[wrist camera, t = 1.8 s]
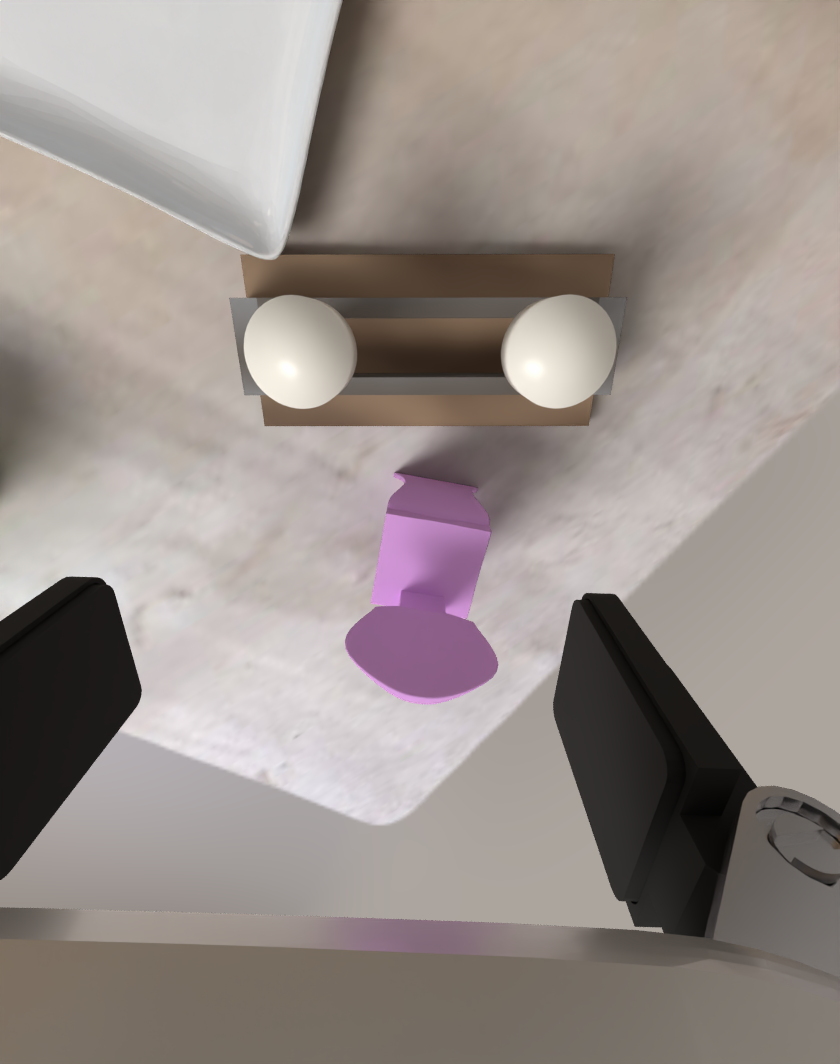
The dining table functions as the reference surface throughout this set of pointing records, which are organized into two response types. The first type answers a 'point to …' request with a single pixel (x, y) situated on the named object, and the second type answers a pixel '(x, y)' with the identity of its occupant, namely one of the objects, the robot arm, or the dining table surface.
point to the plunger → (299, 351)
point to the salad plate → (174, 102)
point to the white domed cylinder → (559, 350)
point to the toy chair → (426, 596)
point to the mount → (426, 332)
